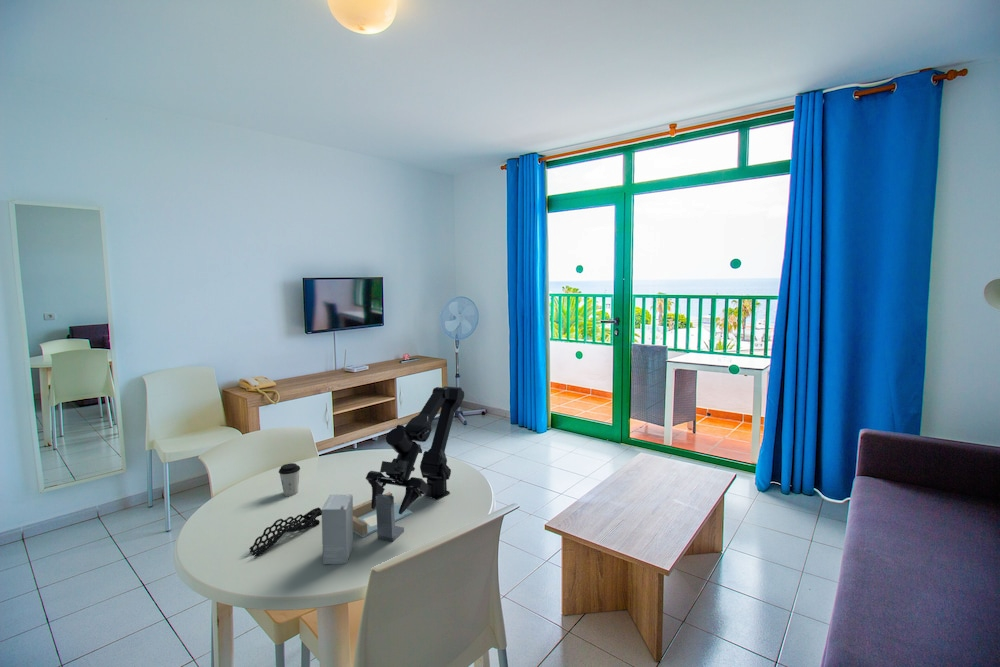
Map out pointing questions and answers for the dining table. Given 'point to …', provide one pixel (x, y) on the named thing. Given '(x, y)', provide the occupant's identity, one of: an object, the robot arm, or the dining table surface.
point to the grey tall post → (386, 518)
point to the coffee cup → (290, 478)
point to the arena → (371, 517)
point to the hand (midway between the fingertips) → (385, 511)
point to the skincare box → (337, 529)
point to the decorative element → (285, 529)
